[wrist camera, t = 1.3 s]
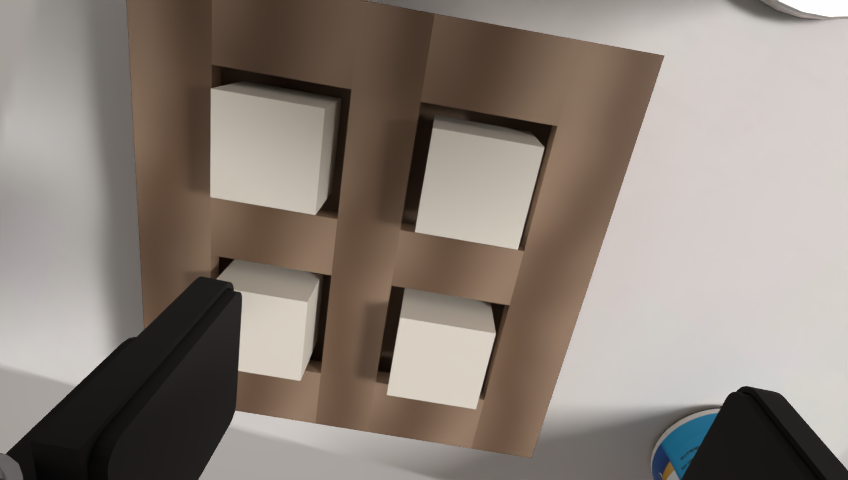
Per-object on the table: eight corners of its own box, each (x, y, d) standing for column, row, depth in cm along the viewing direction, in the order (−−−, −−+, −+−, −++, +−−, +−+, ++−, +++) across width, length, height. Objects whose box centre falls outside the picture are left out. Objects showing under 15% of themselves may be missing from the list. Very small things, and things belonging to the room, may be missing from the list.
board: (631, 52, 24) (664, 55, 21) (521, 409, 33) (531, 458, 29) (174, -32, 24) (124, -44, 20) (182, 354, 32) (147, 396, 28)
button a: (531, 131, 24) (544, 147, 20) (508, 222, 25) (517, 249, 22) (434, 114, 24) (432, 127, 20) (418, 206, 25) (414, 232, 22)
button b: (324, 269, 27) (307, 302, 24) (316, 341, 29) (300, 381, 25) (238, 255, 27) (209, 285, 24) (236, 328, 29) (209, 366, 25)
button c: (341, 98, 23) (325, 108, 20) (332, 191, 25) (315, 215, 22) (243, 80, 23) (210, 88, 20) (240, 176, 25) (210, 197, 22)
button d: (490, 297, 27) (495, 333, 24) (472, 367, 29) (475, 409, 26) (405, 283, 27) (400, 317, 24) (393, 354, 29) (386, 394, 26)
